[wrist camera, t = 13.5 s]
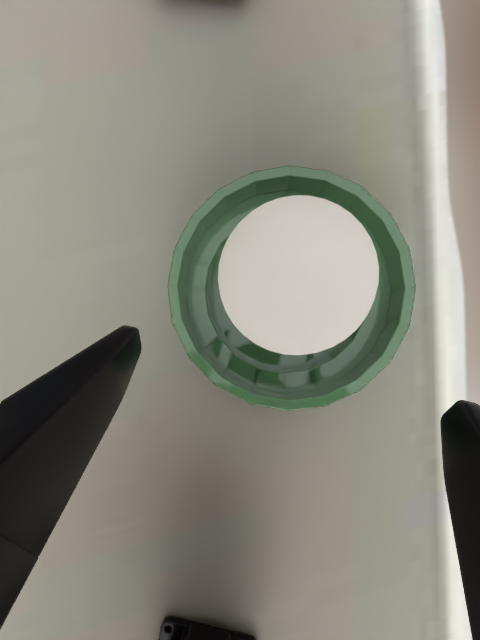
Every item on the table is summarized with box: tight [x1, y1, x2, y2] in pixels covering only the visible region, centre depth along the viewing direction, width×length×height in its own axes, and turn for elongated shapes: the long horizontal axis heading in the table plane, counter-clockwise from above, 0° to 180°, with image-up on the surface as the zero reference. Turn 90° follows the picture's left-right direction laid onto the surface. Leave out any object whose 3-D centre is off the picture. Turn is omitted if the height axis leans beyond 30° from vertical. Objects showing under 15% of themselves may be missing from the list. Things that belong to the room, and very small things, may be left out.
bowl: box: [168, 166, 416, 411], centre depth 20 cm, size 14×14×4 cm
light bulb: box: [218, 195, 379, 355], centre depth 16 cm, size 7×7×11 cm
